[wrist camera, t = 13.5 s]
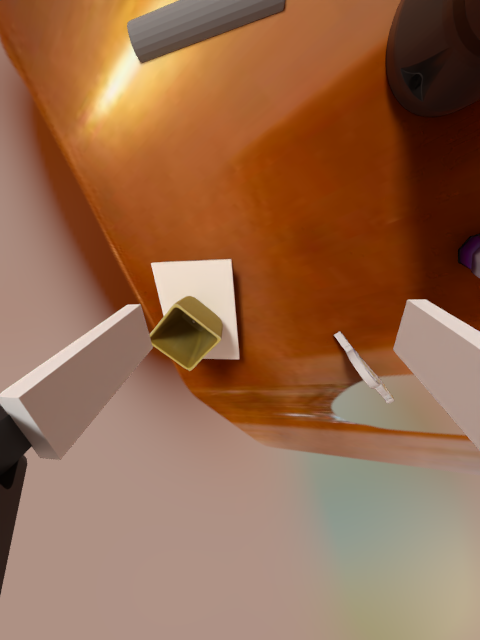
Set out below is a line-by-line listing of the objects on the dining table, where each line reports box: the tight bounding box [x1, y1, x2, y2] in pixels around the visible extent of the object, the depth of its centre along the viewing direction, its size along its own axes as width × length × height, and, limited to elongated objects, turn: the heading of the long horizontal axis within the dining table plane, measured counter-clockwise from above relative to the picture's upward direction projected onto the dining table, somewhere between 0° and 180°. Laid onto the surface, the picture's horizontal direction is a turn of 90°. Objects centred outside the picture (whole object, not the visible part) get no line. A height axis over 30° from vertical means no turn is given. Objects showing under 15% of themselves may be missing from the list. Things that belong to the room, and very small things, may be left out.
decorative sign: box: [334, 331, 394, 404], centre depth 45 cm, size 18×1×10 cm, turn 43°
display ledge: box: [151, 259, 240, 359], centre depth 44 cm, size 14×20×4 cm
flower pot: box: [149, 296, 223, 371], centre depth 38 cm, size 9×9×9 cm
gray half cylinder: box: [127, 0, 285, 63], centre depth 28 cm, size 4×20×2 cm, turn 101°
